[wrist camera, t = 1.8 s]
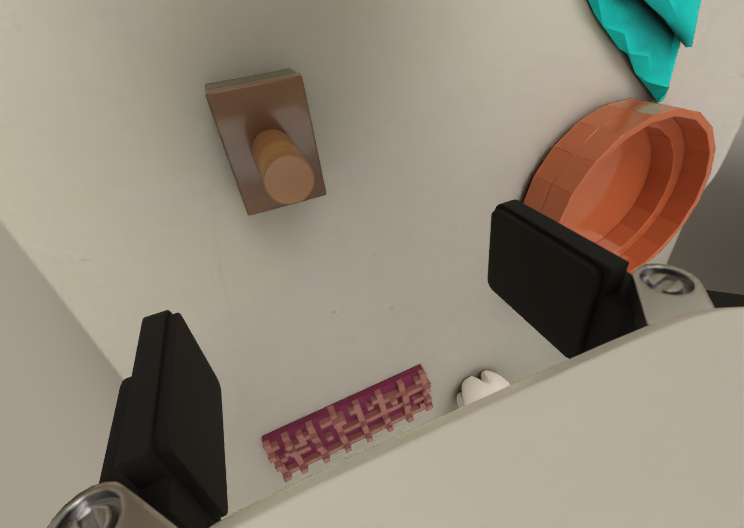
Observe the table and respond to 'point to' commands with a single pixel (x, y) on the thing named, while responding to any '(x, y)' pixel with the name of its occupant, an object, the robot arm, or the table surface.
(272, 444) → the maroon lattice panel
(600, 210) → the bowl
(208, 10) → the table surface
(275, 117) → the stamp
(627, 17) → the cloth
